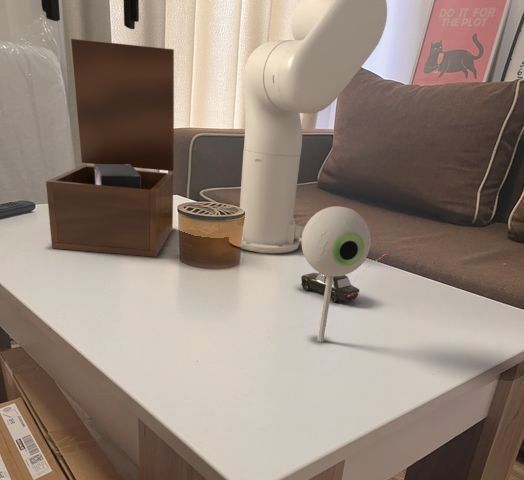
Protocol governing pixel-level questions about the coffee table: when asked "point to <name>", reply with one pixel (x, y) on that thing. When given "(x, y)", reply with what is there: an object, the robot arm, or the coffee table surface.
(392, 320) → the coffee table surface
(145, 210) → the chest
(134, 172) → the small box
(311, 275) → the toy car
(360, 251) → the lollipop
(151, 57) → the lid
